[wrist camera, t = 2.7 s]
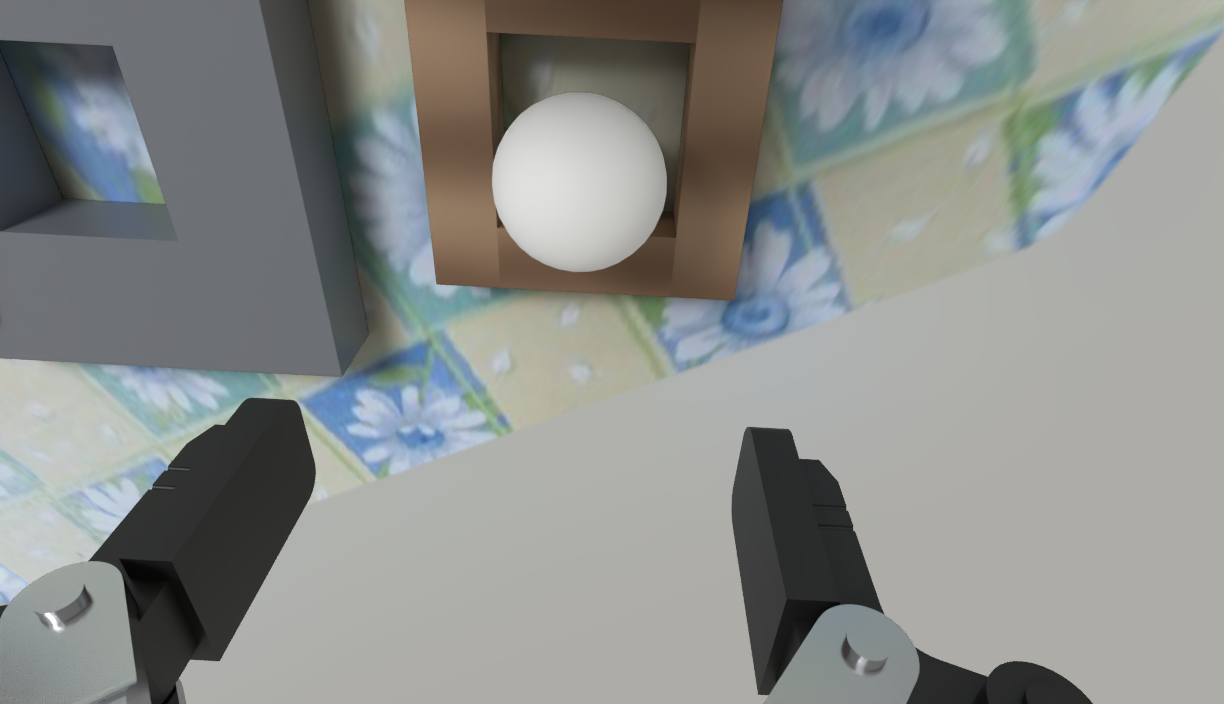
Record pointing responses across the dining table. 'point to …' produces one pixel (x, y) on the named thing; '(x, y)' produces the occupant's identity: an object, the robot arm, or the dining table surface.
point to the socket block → (185, 200)
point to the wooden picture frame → (708, 157)
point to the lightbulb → (579, 181)
